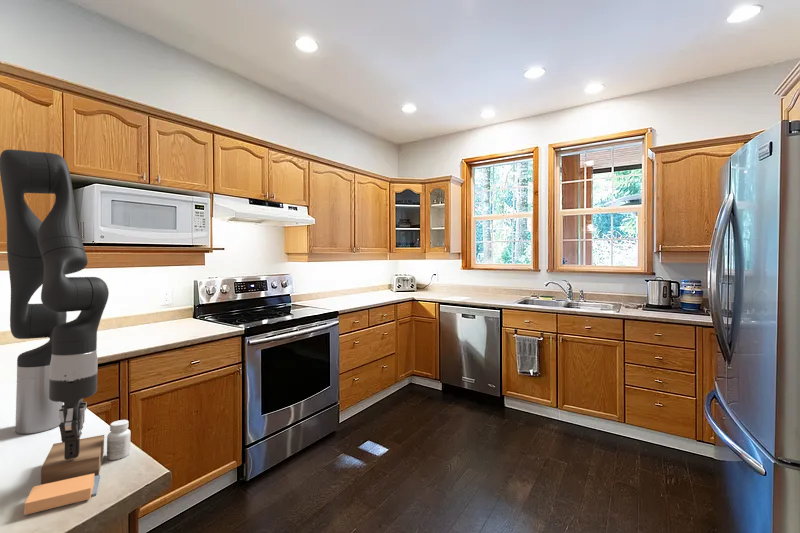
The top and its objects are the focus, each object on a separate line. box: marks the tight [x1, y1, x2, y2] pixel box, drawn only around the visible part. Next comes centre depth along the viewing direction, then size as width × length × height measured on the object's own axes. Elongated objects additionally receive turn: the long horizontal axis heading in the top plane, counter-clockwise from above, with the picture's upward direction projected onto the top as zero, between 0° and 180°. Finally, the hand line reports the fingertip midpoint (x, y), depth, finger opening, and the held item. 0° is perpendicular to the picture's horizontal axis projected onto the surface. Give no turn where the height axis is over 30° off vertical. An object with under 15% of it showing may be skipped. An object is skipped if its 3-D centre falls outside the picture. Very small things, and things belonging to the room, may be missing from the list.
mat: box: [91, 474, 101, 497], centre depth 74 cm, size 8×8×1 cm
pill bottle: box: [106, 419, 132, 461], centre depth 88 cm, size 4×4×8 cm
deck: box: [40, 434, 105, 485], centre depth 82 cm, size 12×9×4 cm
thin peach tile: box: [24, 473, 95, 516], centre depth 71 cm, size 6×9×2 cm, turn 123°
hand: (71, 457), depth 78 cm, fingers closed
